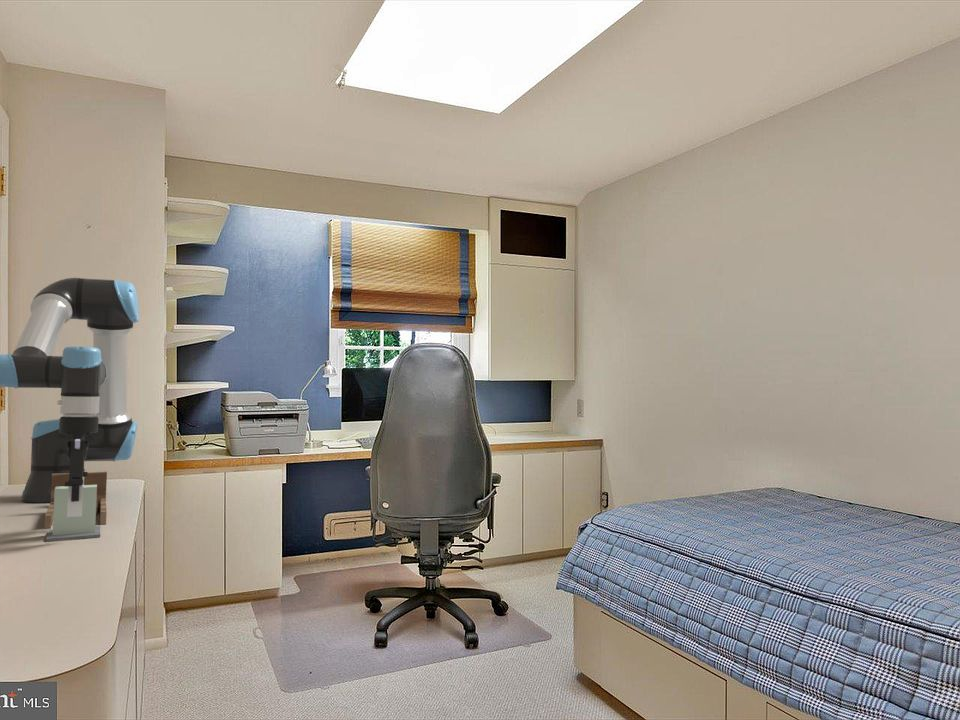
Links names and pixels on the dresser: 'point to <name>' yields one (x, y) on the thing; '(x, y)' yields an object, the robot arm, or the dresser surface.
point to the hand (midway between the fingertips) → (75, 511)
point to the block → (79, 523)
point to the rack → (90, 479)
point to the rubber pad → (73, 535)
